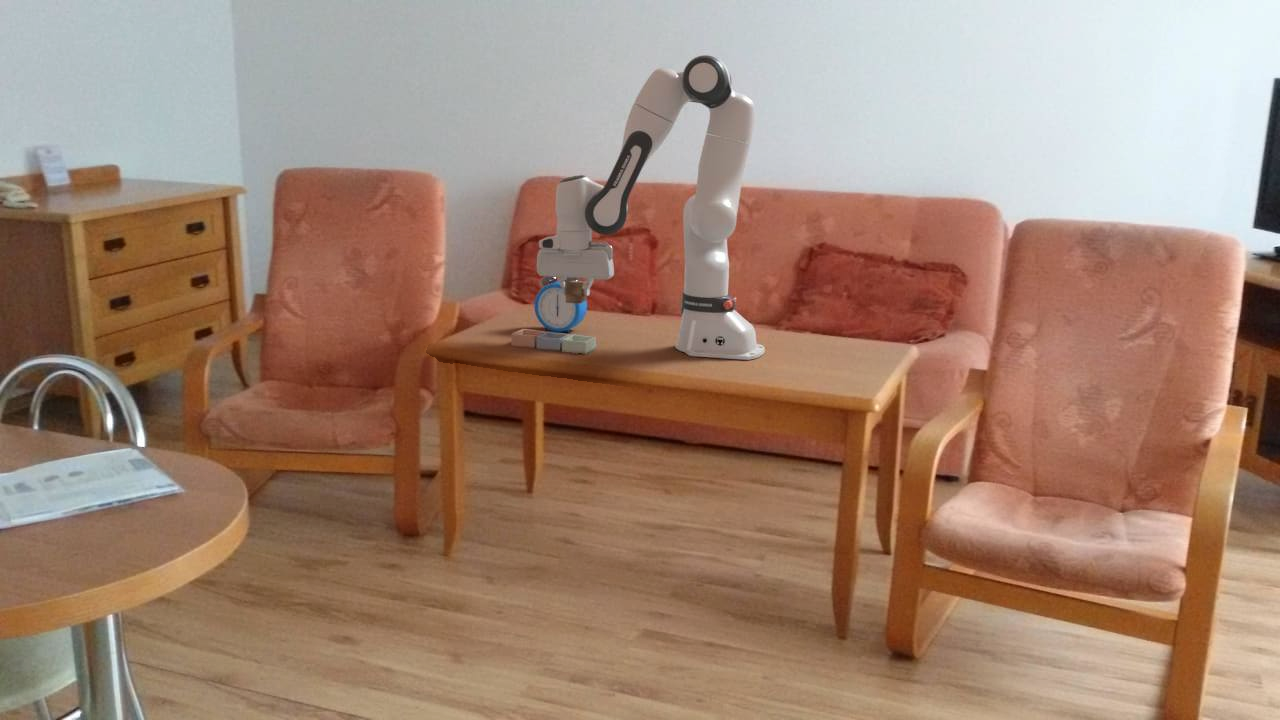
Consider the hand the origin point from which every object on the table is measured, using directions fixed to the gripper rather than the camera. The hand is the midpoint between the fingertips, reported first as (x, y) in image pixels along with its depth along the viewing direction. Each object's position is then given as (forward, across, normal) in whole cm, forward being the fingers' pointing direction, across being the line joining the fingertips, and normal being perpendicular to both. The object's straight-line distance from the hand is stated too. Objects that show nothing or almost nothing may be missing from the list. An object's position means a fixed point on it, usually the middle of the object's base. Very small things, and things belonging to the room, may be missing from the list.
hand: (576, 294), depth 287 cm
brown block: (+2, 0, 0) cm, 2 cm away
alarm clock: (+12, +9, -10) cm, 18 cm away
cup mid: (+12, +3, +8) cm, 15 cm away
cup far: (+12, +10, +8) cm, 17 cm away
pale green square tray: (+12, -4, +8) cm, 15 cm away
